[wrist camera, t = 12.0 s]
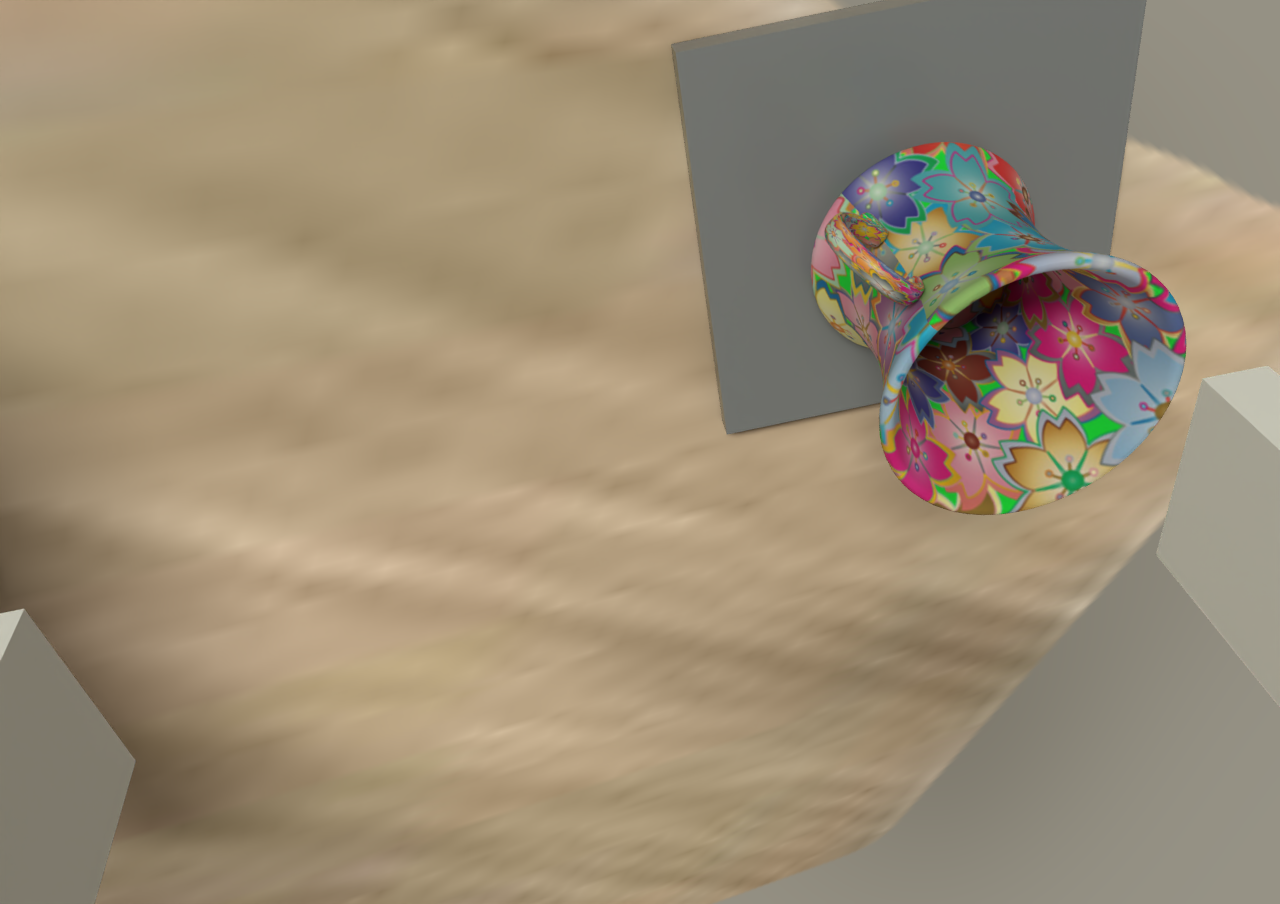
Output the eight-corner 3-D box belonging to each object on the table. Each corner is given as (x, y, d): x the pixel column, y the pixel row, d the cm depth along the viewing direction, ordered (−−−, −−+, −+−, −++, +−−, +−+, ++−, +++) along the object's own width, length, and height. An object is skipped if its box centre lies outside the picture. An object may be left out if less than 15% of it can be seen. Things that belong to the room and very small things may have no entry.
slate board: (722, 420, 44) (726, 434, 43) (671, 44, 34) (675, 52, 33) (1083, 345, 44) (1094, 358, 43) (1137, -53, 34) (1152, -46, 33)
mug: (1081, 209, 39) (1248, 357, 30) (909, 382, 43) (1015, 555, 34) (863, 20, 33) (992, 136, 25) (689, 238, 37) (751, 401, 29)
